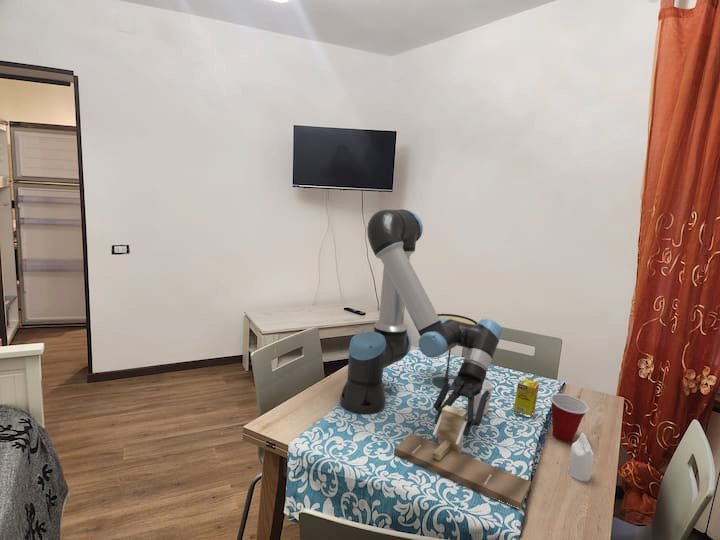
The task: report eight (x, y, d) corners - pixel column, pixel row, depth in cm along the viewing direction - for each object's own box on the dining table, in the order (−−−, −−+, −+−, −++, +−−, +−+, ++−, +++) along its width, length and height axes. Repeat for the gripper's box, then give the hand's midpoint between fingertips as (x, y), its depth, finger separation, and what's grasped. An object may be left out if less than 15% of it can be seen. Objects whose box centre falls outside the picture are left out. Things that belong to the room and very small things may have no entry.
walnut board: (393, 454, 125) (394, 447, 125) (410, 439, 133) (411, 432, 133) (519, 510, 107) (520, 502, 106) (530, 488, 115) (531, 481, 114)
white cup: (489, 418, 149) (493, 390, 147) (465, 414, 151) (469, 386, 149) (488, 407, 157) (492, 380, 155) (464, 403, 158) (468, 376, 156)
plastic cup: (566, 450, 134) (573, 412, 132) (537, 431, 143) (542, 396, 141) (590, 443, 139) (597, 406, 137) (560, 425, 148) (566, 391, 146)
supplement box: (531, 419, 151) (536, 388, 149) (512, 413, 154) (517, 383, 152) (534, 412, 156) (539, 382, 154) (517, 406, 159) (521, 377, 157)
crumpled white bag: (601, 441, 117) (579, 439, 117) (593, 483, 119) (571, 480, 120) (592, 429, 123) (570, 426, 123) (584, 469, 125) (563, 466, 126)
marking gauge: (425, 460, 122) (429, 419, 120) (441, 443, 131) (446, 405, 129) (445, 469, 119) (450, 428, 117) (461, 451, 128) (466, 412, 126)
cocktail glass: (461, 399, 162) (470, 331, 157) (414, 384, 170) (421, 320, 165) (475, 381, 177) (483, 320, 173) (431, 369, 186) (438, 310, 181)
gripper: (508, 382, 133) (481, 458, 122) (447, 364, 143) (418, 432, 133) (505, 371, 127) (477, 450, 117) (442, 352, 137) (411, 423, 127)
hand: (446, 440), depth 125 cm, fingers closed on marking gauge, 6 cm apart
